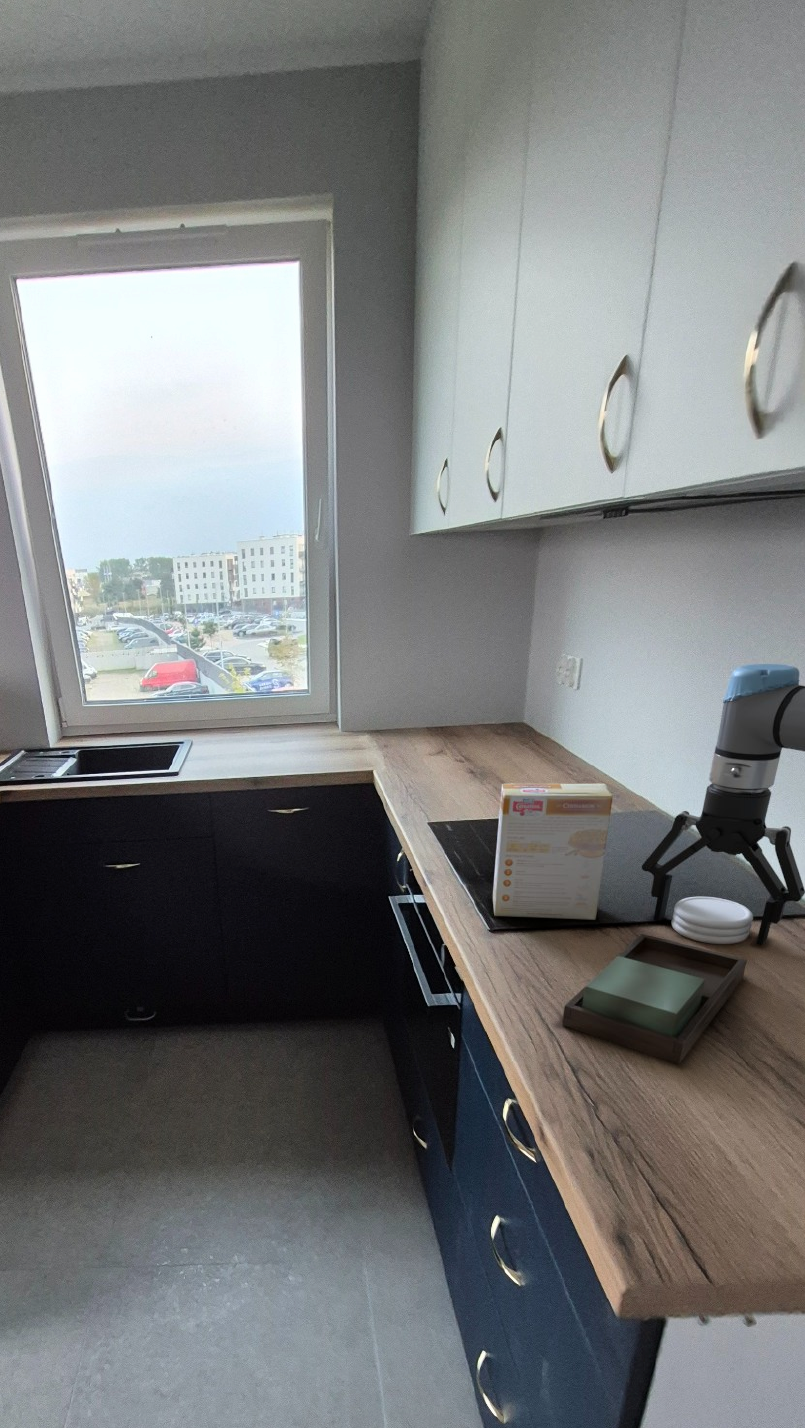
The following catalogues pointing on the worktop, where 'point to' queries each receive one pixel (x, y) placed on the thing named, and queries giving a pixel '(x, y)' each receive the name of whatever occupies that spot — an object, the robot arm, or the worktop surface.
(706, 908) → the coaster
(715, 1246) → the worktop surface
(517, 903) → the coffeecake box
